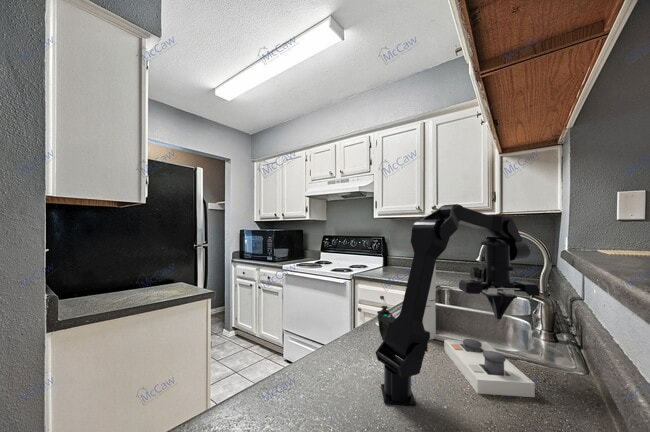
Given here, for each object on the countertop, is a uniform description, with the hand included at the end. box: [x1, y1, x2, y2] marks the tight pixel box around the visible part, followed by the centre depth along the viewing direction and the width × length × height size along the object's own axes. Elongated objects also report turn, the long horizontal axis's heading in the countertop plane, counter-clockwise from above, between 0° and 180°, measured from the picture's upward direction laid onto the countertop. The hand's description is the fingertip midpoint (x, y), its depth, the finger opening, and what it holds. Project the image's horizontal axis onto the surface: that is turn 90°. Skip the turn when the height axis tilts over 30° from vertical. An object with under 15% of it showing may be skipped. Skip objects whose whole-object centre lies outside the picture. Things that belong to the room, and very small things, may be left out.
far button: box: [462, 338, 482, 352], centre depth 79 cm, size 5×5×4 cm
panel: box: [443, 339, 536, 398], centre depth 73 cm, size 22×12×3 cm, turn 175°
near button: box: [483, 351, 507, 376], centre depth 67 cm, size 5×5×4 cm
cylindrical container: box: [423, 261, 437, 341], centre depth 96 cm, size 7×7×25 cm
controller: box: [376, 305, 397, 340], centre depth 91 cm, size 4×12×10 cm, turn 8°
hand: (498, 319), depth 76 cm, fingers closed
